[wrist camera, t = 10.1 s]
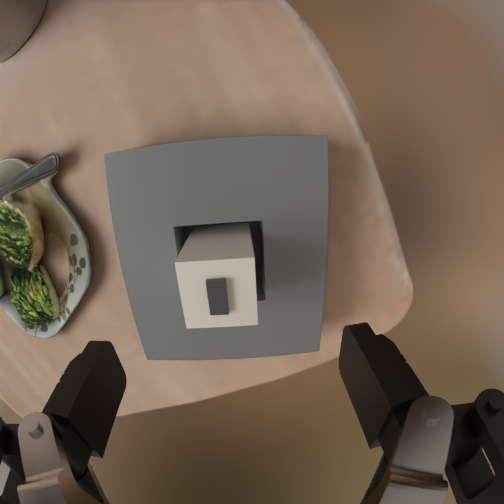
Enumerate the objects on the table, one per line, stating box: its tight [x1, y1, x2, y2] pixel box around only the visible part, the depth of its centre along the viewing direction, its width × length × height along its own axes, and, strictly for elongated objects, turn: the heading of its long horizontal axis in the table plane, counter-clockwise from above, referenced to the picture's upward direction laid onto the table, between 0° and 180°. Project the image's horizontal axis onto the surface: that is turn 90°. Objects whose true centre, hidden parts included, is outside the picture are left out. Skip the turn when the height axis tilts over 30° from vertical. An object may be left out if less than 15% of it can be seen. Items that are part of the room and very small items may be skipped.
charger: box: [175, 223, 258, 328], centre depth 18 cm, size 4×4×7 cm
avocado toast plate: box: [0, 152, 92, 338], centre depth 18 cm, size 19×18×5 cm
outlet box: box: [105, 135, 329, 360], centre depth 20 cm, size 16×14×4 cm
